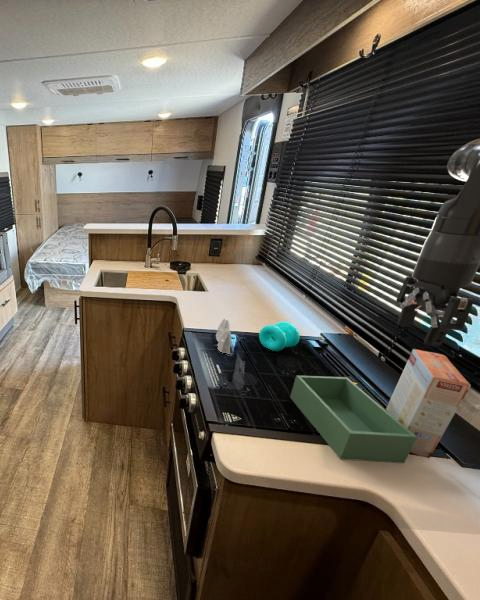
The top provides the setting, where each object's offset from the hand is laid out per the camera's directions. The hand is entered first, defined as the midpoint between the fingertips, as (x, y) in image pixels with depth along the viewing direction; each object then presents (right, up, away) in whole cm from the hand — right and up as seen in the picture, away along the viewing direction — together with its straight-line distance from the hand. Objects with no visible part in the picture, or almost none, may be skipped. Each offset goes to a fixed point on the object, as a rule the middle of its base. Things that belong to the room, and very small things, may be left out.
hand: (416, 334), depth 62 cm
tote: (-1, -26, +18) cm, 32 cm away
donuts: (+6, -11, +55) cm, 56 cm away
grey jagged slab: (-28, +4, +95) cm, 99 cm away
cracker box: (+13, -27, +15) cm, 34 cm away
